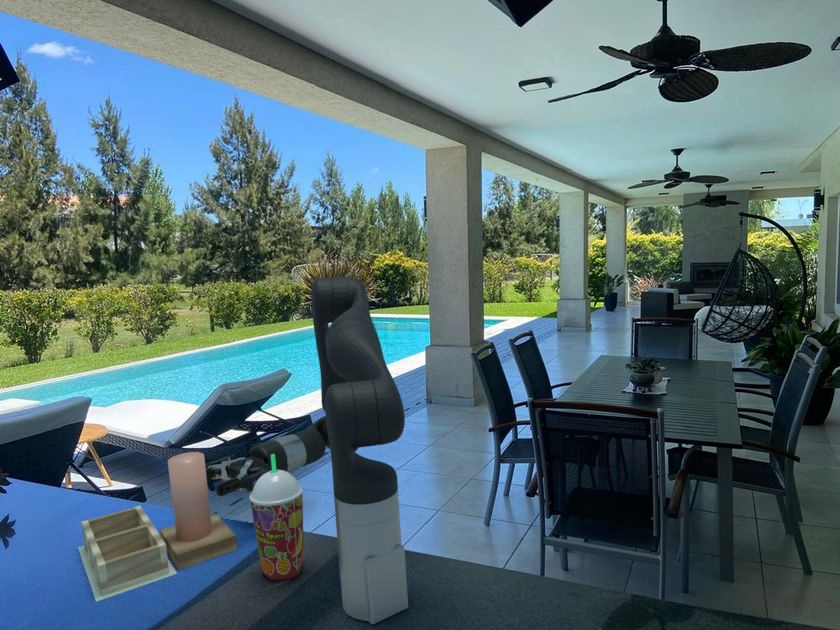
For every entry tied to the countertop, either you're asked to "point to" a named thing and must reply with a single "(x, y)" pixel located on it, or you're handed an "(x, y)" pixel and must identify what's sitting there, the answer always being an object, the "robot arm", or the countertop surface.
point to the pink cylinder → (190, 496)
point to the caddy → (124, 549)
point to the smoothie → (278, 523)
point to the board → (200, 544)
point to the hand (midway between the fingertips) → (204, 485)
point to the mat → (99, 596)
